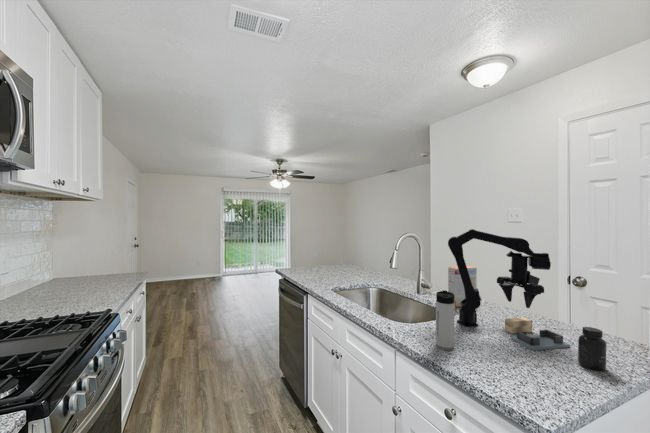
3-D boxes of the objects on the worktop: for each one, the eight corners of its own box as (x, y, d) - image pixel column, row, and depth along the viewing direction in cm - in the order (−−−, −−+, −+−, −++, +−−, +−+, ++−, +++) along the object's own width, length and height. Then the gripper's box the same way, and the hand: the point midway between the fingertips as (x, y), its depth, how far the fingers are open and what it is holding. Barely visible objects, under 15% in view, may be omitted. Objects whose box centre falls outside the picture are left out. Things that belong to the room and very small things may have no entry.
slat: (511, 333, 124) (511, 321, 124) (504, 330, 127) (505, 318, 127) (532, 332, 126) (532, 320, 126) (525, 329, 129) (525, 317, 129)
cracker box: (468, 303, 167) (469, 265, 167) (477, 306, 161) (477, 267, 161) (447, 304, 163) (447, 266, 163) (455, 308, 157) (455, 268, 157)
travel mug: (453, 344, 112) (453, 291, 112) (454, 352, 106) (455, 295, 106) (435, 341, 114) (436, 289, 114) (435, 349, 108) (436, 293, 108)
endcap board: (533, 350, 108) (533, 340, 108) (511, 339, 118) (511, 330, 118) (570, 347, 111) (570, 337, 111) (545, 336, 121) (545, 327, 121)
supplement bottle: (608, 374, 92) (609, 335, 92) (580, 367, 96) (580, 330, 96) (603, 364, 98) (603, 328, 98) (576, 359, 102) (576, 324, 102)
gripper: (556, 271, 119) (555, 310, 120) (517, 263, 138) (516, 297, 138) (532, 272, 117) (531, 312, 117) (496, 264, 135) (495, 298, 136)
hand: (518, 304), depth 127 cm, fingers open, 9 cm apart
